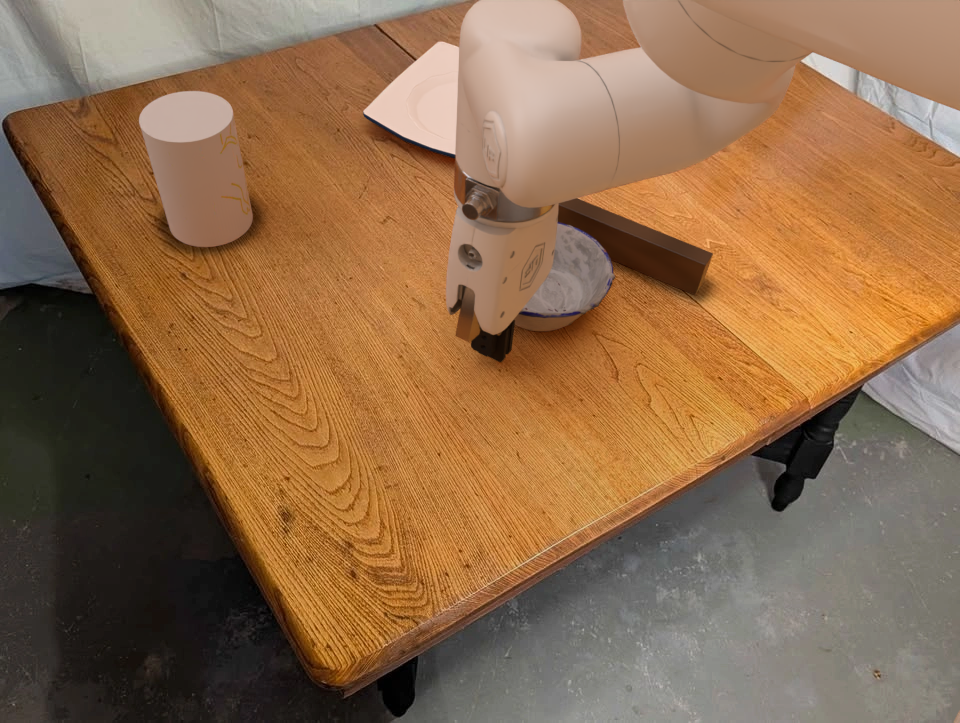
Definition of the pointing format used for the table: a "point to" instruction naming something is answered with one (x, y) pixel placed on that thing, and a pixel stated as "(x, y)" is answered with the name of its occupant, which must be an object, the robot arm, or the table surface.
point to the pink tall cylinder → (197, 167)
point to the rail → (639, 245)
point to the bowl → (569, 282)
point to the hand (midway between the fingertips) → (491, 349)
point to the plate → (422, 102)
